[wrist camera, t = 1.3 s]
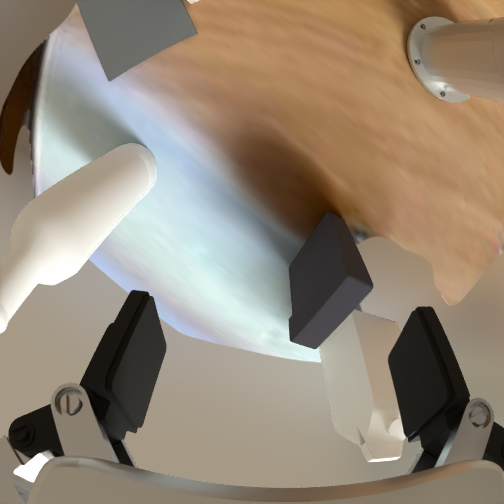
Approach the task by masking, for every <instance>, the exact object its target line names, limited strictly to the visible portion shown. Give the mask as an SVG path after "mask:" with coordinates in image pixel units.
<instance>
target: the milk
mask: <svg viewBox="0 0 504 504" xmlns="http://www.w3.org/2000/svg"><path fill="white" fill-rule="evenodd" d="M400 334H401V330H400V327H399V324H398V322H394V321H391V320H387V319H384V318H381V317H377V316H374V315H371V314H367V313H364V312H361V311H358V310H354V311H353V312H352V313H351V314H350V315H349V316H348V317H347V318H346V319H345V320H344V321H343V322H342V323H341V324H340V326H339V327H338V328H337V329H336V330H335V331H334V332H333V333H332V334H331V335H330V336H329V337H328V338H327V339H326V340H325V341H324V342H323V343H322V344H321V345H320V346H319V352H320V357H321V362H322V367H323V372H324V377H325V383H326V387H327V394H328V399H329V404H330V411H331V417H332V423H333V427H334V429H335V431H336V432H337V433H338V434H339V435H341V436H343V437H345V438H346V439H348V440H349V441H351V442H353V443H355V444H356V445H358V446H360V448H361V450H362V452H363V454H364V456H365V458H366V460H367V462H376V461H387V460H395V459H397V458H399V457H401V453H402V447H403V441H404V439H405V437H406V436H405V435H404V432H403V426H402V421H401V416H400V411H399V407H398V402H397V398H396V393H395V389H394V385H393V381H392V377H391V373H390V369H389V365H388V356H389V354H390V352H391V350H392V348H393V347H394V345H395V343H396V341H397V339H398V338H399V336H400Z"/></svg>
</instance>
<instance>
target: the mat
mask: <svg viewBox="0 0 504 504" xmlns="http://www.w3.org/2000/svg"><path fill="white" fill-rule="evenodd" d="M76 1H77V4H78V6H79V9H80V12H81V14H82V17H83V20H84V22H85V25H86V28H87V30H88V33H89V35H90V38H91V40H92V43H93V45H94V48H95V50H96V53H97V55H98V57H99V60H100V62H101V64H102V67H103V69H104V72H105V74H106V76H107V79H108V81H112V80H113V79H115V78H116V77H118V76H119V75H121V74H122V73H124V72H126V71H127V70H129V69H130V68H132V67H134V66H135V65H137V64H139V63H140V62H142V61H144V60H146V59H147V58H149V57H151V56H153V55H155V54H157V53H158V52H160V51H162V50H164V49H166V48H168V47H170V46H172V45H174V44H176V43H178V42H180V41H182V40H184V39H186V38H189V37H191V36H193V35H195V34H197V31H196V29H195V27H194V25H193V23H192V20H191V18H190V16H189V14H188V12H187V10H186V8H185V6H184V4H183V2H182V0H76Z"/></svg>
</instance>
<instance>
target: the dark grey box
mask: <svg viewBox="0 0 504 504" xmlns="http://www.w3.org/2000/svg"><path fill="white" fill-rule="evenodd" d="M289 276H290V288H291V301H292V316H291V317H290V318H289V335H290V341H291V342H294V343H297V344H300V345H303V346H306V347H309V348H312V349H317V348H318V347H319V346H320V345H321V344H322V343H323V342H324V341H325V340H326V339H327V338H328V337H329V336H330V335H331V334H332V333H333V332H334V331H335V330H336V329H337V328H338V327H339V326H340V324H341V323H342V322H343V321H344V320H345V319H346V318H347V317H348V316H349V315H350V314H351V313H352V312H353V311H354V310H355V308H356V307H357V306H358V305H359V304H360V303H361V302H362V301H363V300H364V299H365V297H366V296H367V295H368V294H369V293H370V292H371V290H372V289H373V283H372V280H371V278H370V275H369V273H368V271H367V269H366V266H365V264H364V262H363V260H362V257H361V255H360V253H359V251H358V248H357V246H356V244H355V242H354V240H353V237H352V235H351V233H350V231H349V229H348V227H347V225H346V223H345V221H344V220H343V219H341V218H339V217H338V216H336V215H334V214H332V213H330V212H326V213H325V215H324V216H323V218H322V219H321V221H320V222H319V224H318V225H317V227H316V228H315V230H314V231H313V233H312V234H311V236H310V237H309V239H308V240H307V242H306V243H305V245H304V246H303V248H302V249H301V251H300V252H299V254H298V255H297V257H296V258H295V260H294V261H293V262H292V264H291V265H290V267H289Z"/></svg>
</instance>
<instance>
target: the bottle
mask: <svg viewBox="0 0 504 504" xmlns="http://www.w3.org/2000/svg"><path fill="white" fill-rule="evenodd" d="M157 176H158V166H157V163H156V160H155V157H154V156H153V155H152V153H151V152H150V151H149V150H148V149H147V148H145V147H144V146H142V145H141V144H136V143H128V144H123V145H121V146H118V147H116V148H114V149H112V150H111V151H110V152H108V153H106V154H104V155H103V156H101V157H99V158H97V159H95V160H94V161H92V162H90V163H88V164H87V165H85V166H83V167H82V168H80V169H78V170H77V171H75V172H74V173H72V174H70V175H69V176H67V177H66V178H64V179H62V180H61V181H59V182H58V183H56V184H55V185H53V186H52V187H50V188H49V189H47V190H46V191H44V192H43V193H42V194H40V195H39V196H37V197H36V198H34V199H33V200H32V201H30V202H29V203H28V204H27V205H26V206H25V207H24V208H23V209H22V211H21V212H20V214H19V216H18V217H17V219H16V221H15V223H14V225H13V227H12V231H11V250H10V251H9V252H7V254H6V255H4V256H3V257H2V258H1V259H0V333H1V332H4V331H5V329H6V328H7V324H8V322H9V320H10V319H11V317H12V316H13V315H14V313H15V312H16V311H17V309H18V308H19V306H20V305H21V304H22V303H23V301H24V300H25V299H26V297H27V296H28V295H29V294H30V292H31V291H32V290H33V289H34V287H35V286H36V285H37V283H40V284H45V285H55V284H57V283H59V282H61V281H63V280H65V279H67V278H69V277H71V276H72V275H74V274H76V273H77V272H78V271H79V269H80V268H81V267H82V266H83V265H84V263H85V262H86V261H87V260H88V258H89V257H90V256H91V255H92V253H93V252H94V251H95V250H96V249H97V247H98V246H99V245H100V244H101V243H102V242H103V240H104V239H105V238H106V237H107V236H108V235H109V233H110V232H111V231H112V230H113V229H114V228H115V227H116V225H117V224H118V223H119V222H120V221H121V220H122V219H123V218H124V217H125V215H126V214H127V213H128V212H129V211H130V210H131V209H132V208H133V207H134V206H135V205H136V204H137V203H138V202H139V201H140V200H141V199H142V198H143V197H144V196H145V195H146V194H147V193H148V192H149V190H150V189H151V188H152V187H153V185H154V184H155V182H156V179H157Z"/></svg>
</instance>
